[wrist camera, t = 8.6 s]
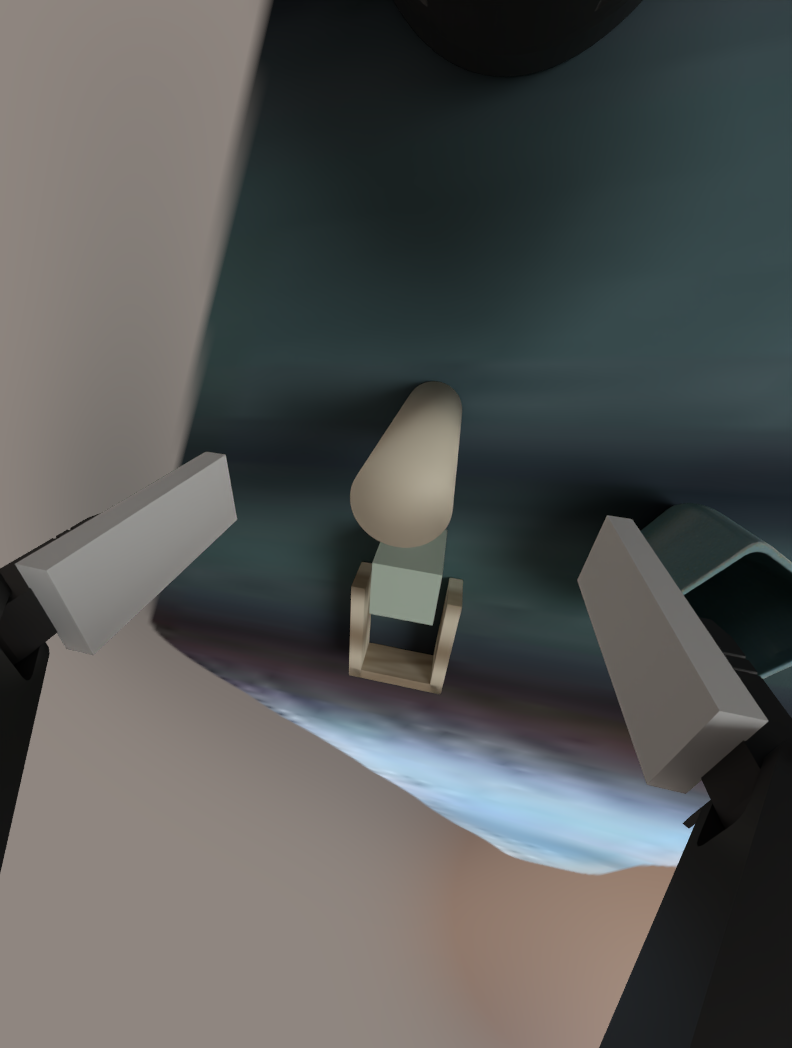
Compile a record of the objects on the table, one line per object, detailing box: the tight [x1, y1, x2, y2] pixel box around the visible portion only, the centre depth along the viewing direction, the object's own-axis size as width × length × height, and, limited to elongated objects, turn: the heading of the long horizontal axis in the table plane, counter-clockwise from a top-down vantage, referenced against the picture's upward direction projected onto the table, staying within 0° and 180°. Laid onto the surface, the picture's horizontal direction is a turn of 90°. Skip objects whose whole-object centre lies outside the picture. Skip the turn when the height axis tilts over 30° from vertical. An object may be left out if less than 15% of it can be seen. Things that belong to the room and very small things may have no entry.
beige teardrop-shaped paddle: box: [350, 381, 462, 626], centre depth 23 cm, size 16×5×14 cm, turn 175°
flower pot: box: [640, 503, 792, 679], centre depth 25 cm, size 9×9×9 cm
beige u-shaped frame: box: [349, 562, 463, 694], centre depth 36 cm, size 12×9×4 cm
